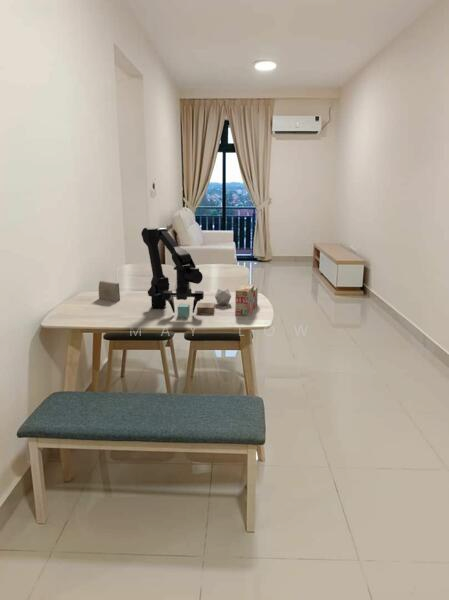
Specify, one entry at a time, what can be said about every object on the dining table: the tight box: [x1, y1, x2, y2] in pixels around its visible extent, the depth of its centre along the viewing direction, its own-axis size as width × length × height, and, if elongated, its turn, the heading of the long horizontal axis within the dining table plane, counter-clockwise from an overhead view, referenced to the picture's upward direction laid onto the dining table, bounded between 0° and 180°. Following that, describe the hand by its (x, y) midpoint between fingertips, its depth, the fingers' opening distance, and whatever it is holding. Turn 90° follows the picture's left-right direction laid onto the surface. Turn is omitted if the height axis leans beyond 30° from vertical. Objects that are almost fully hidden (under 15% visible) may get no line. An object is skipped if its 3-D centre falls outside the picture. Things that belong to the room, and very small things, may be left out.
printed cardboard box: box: [234, 283, 259, 317], centre depth 217 cm, size 21×6×12 cm, turn 164°
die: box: [214, 288, 232, 306], centre depth 227 cm, size 8×9×10 cm
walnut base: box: [196, 302, 215, 315], centre depth 215 cm, size 8×8×3 cm
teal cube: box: [177, 303, 191, 318], centre depth 208 cm, size 5×5×5 cm
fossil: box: [98, 280, 121, 303], centre depth 233 cm, size 12×4×10 cm, turn 62°
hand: (183, 312), depth 209 cm, fingers open, 9 cm apart
